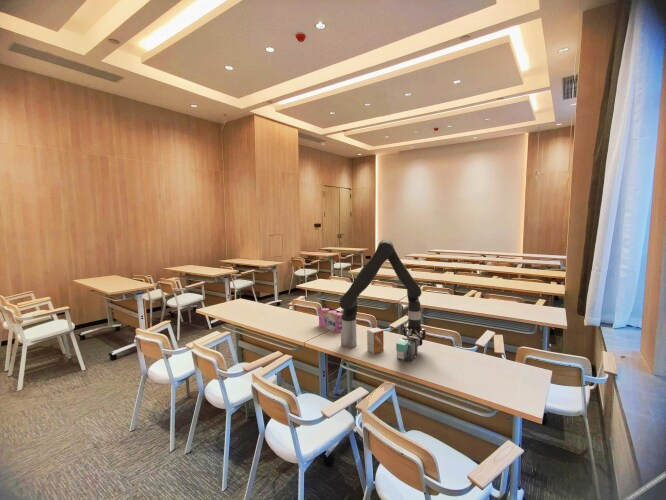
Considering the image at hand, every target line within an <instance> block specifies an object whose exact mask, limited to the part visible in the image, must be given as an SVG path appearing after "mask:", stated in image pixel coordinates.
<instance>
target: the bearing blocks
mask: <svg viewBox="0 0 666 500" xmlns="http://www.w3.org/2000/svg"><path fill="white" fill-rule="evenodd" d="M398 341H405V342H408V356H407V357H406V358H405V359H400V358H397V357H396V358H397V360H400V361H401V360H402V361H406V362H411V363H412V362H413V361H414V360H416V358H417V357H418V356H419V355H418V353H419V352H418V350H419V348H418V347H419V346H418V340H417V339H412V338H407V337H406V336H403V337H402V338H400V339H399V340H398Z"/></svg>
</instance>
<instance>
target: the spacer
mask: <svg viewBox="0 0 666 500" xmlns="http://www.w3.org/2000/svg"><path fill="white" fill-rule="evenodd" d="M395 345H396V346H395V347H396V348H395V350H396V352H397V351H402V352H406V351H407V350H408V342H405V341H399V340H398V341H397V342H396V343H395Z"/></svg>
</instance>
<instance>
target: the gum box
mask: <svg viewBox="0 0 666 500" xmlns="http://www.w3.org/2000/svg"><path fill="white" fill-rule="evenodd" d="M342 314H343V311H341V310H337V309H334V308H331V307H328V306H323V307H318V325H319V326H320V327H321V328H324V329H327V330H329V331H331V332H334V333H336V334H337V333H341V330H342Z"/></svg>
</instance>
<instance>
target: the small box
mask: <svg viewBox="0 0 666 500" xmlns="http://www.w3.org/2000/svg"><path fill="white" fill-rule="evenodd" d="M366 333H367V335H366V338H367V339H366V342H367V343H366V345H367V346H366V347H367V348H366V351H368V352H370V353H372V354H377V353H380V352H383V351H384V345H385V344H384V343H385V342H384V329H381V328H380V327H374V328H370V329H367V330H366Z"/></svg>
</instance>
